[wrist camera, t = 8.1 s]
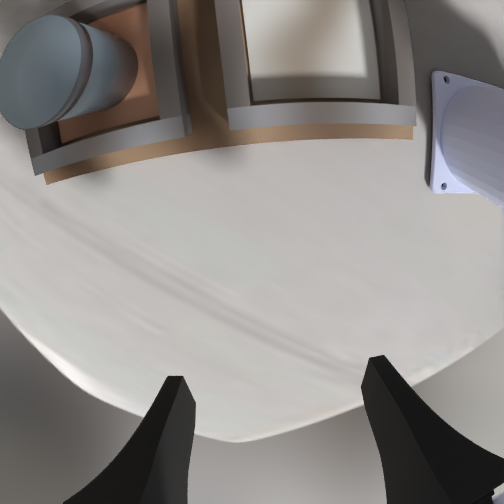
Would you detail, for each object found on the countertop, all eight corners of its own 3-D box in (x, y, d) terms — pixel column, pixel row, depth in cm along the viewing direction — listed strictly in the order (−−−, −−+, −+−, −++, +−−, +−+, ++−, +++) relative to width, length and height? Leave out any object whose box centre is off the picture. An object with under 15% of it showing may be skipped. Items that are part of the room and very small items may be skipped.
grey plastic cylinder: (135, 23, 10) (78, -6, 5) (144, 100, 13) (87, 107, 7) (63, 51, 11) (-8, 47, 5) (72, 122, 13) (2, 145, 8)
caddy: (386, -27, 9) (409, -42, 7) (404, 136, 15) (431, 146, 12) (34, 30, 10) (6, 26, 8) (54, 180, 16) (28, 195, 13)
